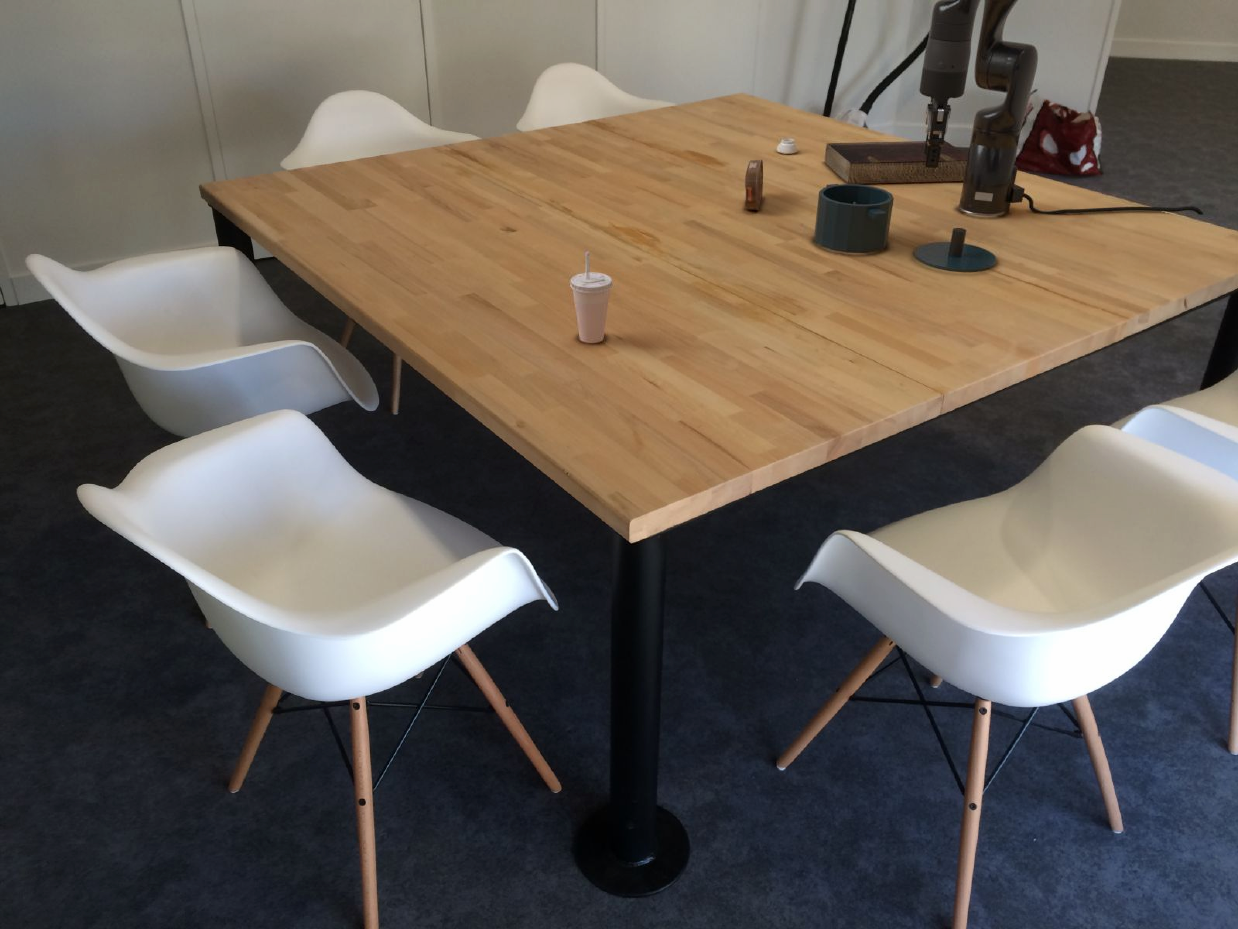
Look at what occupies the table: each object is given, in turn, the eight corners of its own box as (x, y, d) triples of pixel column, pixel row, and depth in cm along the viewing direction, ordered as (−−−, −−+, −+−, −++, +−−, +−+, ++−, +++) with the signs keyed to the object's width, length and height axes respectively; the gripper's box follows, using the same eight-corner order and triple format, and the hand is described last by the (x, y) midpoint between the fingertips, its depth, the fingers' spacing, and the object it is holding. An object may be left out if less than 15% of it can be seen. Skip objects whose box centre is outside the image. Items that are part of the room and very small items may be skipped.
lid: (965, 244, 204) (971, 214, 201) (1011, 270, 192) (1018, 238, 189) (898, 251, 201) (903, 220, 197) (941, 278, 189) (946, 246, 186)
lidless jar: (801, 152, 261) (785, 148, 264) (802, 140, 259) (786, 136, 262) (788, 155, 258) (772, 151, 261) (789, 143, 256) (773, 139, 259)
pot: (857, 224, 214) (863, 177, 209) (907, 256, 198) (914, 206, 193) (796, 230, 210) (800, 183, 205) (841, 263, 195) (847, 212, 190)
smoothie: (570, 330, 168) (568, 245, 161) (610, 329, 169) (610, 244, 161) (572, 347, 163) (570, 259, 155) (613, 346, 163) (614, 258, 156)
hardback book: (941, 159, 256) (944, 138, 253) (972, 182, 240) (976, 159, 238) (824, 162, 253) (826, 141, 250) (847, 185, 237) (850, 162, 235)
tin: (756, 215, 218) (759, 174, 214) (741, 214, 219) (744, 173, 215) (763, 194, 231) (766, 155, 227) (748, 193, 232) (751, 154, 227)
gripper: (970, 75, 175) (953, 173, 184) (966, 59, 187) (950, 152, 196) (923, 72, 177) (909, 170, 185) (922, 57, 189) (908, 149, 197)
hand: (930, 160), depth 190 cm, fingers open, 8 cm apart
